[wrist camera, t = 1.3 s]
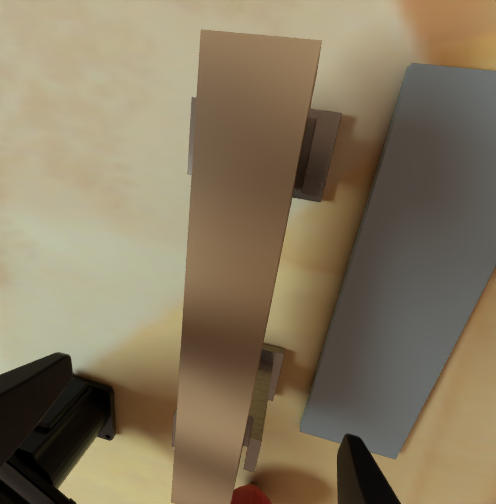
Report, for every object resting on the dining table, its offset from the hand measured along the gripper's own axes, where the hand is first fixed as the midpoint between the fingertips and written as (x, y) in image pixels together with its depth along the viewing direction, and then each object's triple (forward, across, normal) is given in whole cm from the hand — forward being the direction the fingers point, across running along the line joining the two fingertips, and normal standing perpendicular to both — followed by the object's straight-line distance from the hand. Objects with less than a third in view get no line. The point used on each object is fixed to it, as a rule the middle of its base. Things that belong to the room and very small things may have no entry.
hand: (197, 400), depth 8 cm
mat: (+10, -9, 0) cm, 13 cm away
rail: (+5, 0, 0) cm, 5 cm away
